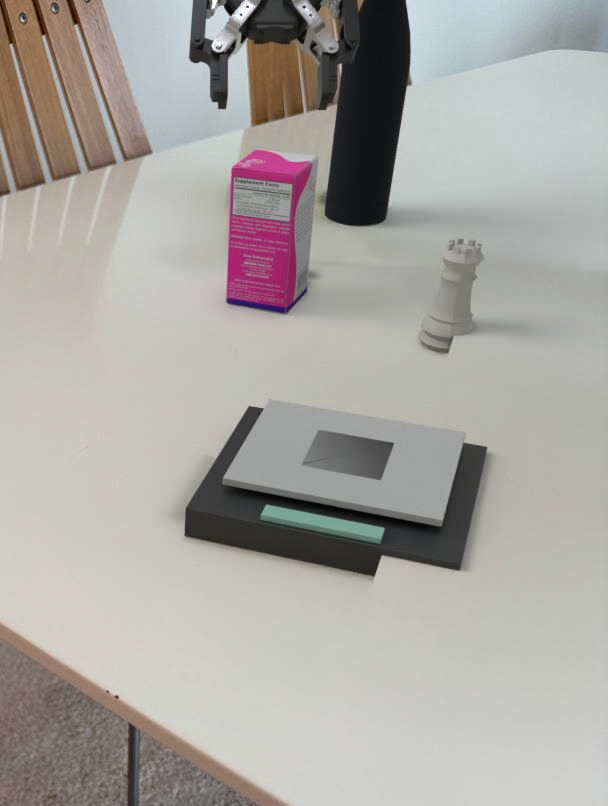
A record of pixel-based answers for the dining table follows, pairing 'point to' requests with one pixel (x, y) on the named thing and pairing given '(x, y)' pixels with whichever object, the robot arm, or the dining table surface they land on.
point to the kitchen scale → (339, 489)
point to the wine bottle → (369, 116)
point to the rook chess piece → (452, 297)
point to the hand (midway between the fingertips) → (273, 104)
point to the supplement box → (270, 229)
